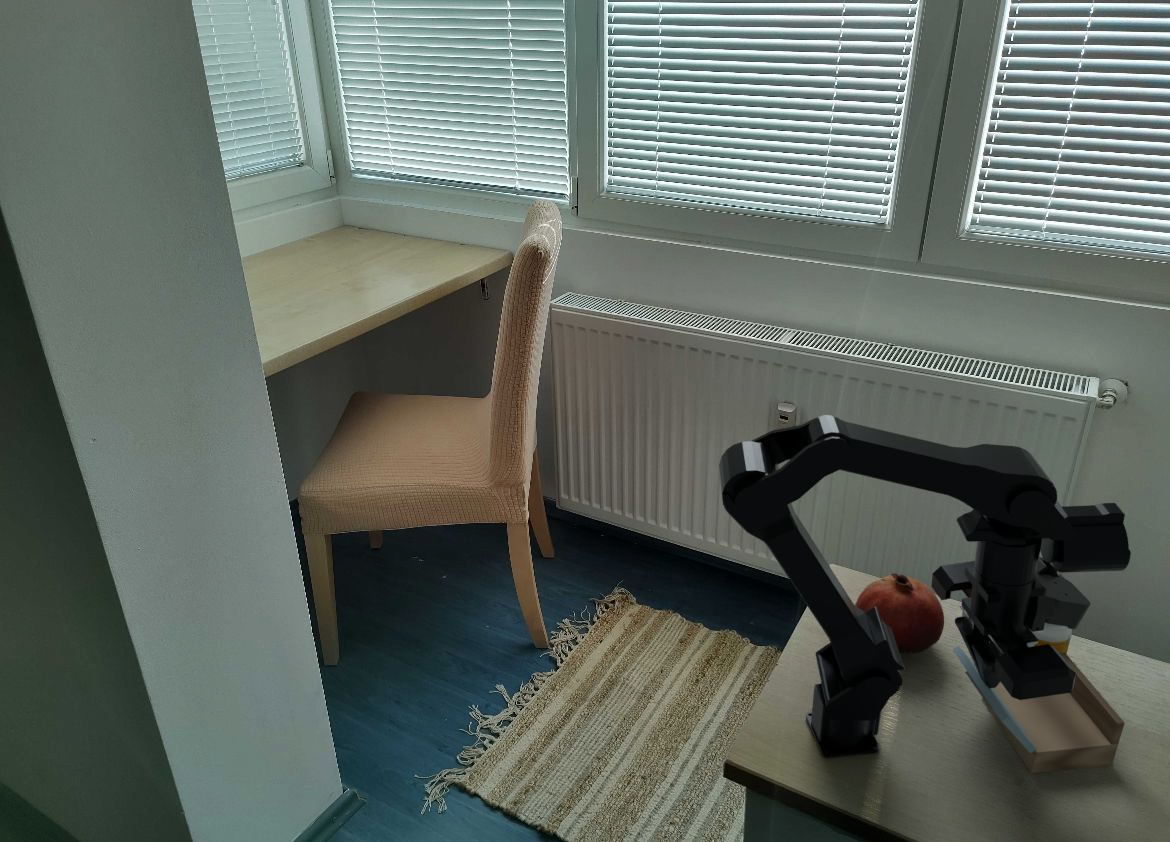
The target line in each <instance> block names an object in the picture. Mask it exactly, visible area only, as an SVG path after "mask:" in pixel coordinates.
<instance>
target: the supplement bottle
mask: <svg viewBox="0 0 1170 842" xmlns="http://www.w3.org/2000/svg"><path fill="white" fill-rule="evenodd" d="M1031 632H1032V631H1031ZM1032 633H1033V634H1034V635H1035V636H1036V638H1037V639H1038V644H1035V646H1039V645H1046V644H1050V645H1051V646H1052V647H1054V648H1055V649H1056V650H1057V651H1058V652H1059V653H1066V654H1067V653H1068V649H1069V646H1070V641H1071V639H1072V638H1071V637H1072V634H1073V629H1069V628H1068V627H1066V626H1060V625H1053V624H1047V623H1045V625H1044V630H1042V631H1035V632H1032ZM1067 655H1068V654H1067Z"/></svg>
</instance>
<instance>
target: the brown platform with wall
mask: <svg viewBox="0 0 1170 842" xmlns="http://www.w3.org/2000/svg"><path fill="white" fill-rule="evenodd" d="M1060 654H1061V655H1062V657H1063V658H1064V659H1065V660H1066V661H1067V663H1068V664H1069V665H1070V666H1071V667H1072V669H1073V670H1074V671H1075V672H1076V678H1075V683H1074V688H1073V690H1072V692H1071V693H1065V694H1058V695H1051V696H1045V697H1038V698H1031V699H1025V700H1018V699H1016V698H1013V697H1011V695H1010V694H1009V693H1008V691H1007V690H1006V689H1005V687H1004V686H1003V684H1002V683H1001V682H1000V683H999V684H998V686H997V687H995V688H994V689H995V691H996V692H997V693H998V695H999V696H1000V698H1001V699H1002V700H1003V702H1004V703H1005V705H1006V706H1007V708H1008V709H1009V710H1010V712H1011V713H1012V715H1013V716H1014V717H1015V719H1016V720H1017V722H1018V723H1019V725H1020V726H1021V727H1022V729H1023V730H1024V732H1025V733H1026V734H1027V736H1028V737H1029V739H1030V740H1031V742H1032V743H1033V744H1034V746H1035V747H1036V749H1037V750H1035V751H1033V752H1032V753H1030V752H1029V751H1028V750H1027V749H1026V748H1025V747H1024V746H1023V745H1022V743H1021V742H1020V741H1019V740H1018V739H1017V738H1016V737H1015V736H1014V735H1013V733H1012V732H1011V731H1010V730H1009V729H1008V728H1007V727H1006V726H1005V725H1004V723H1003V722H1002V721H1001V720H1000V718H999V717H998V715H997V714H996V713H995V711H994V710H993V708H990V707H989V706H988V705H987V704H986V702H985V701H984V699H983V698H982V697H981V700H982V702H983V704H984V705H985V706H986V708H987V709H988V711H989V712H990V714H991V716H992V717H993V719H995V721H996V722H997V724H998V726H999V728H1001V730H1002V731H1003V733H1004V734H1005V736H1006V738H1007V739H1008V740H1009V742H1010V743H1011V745H1012V746H1013V748H1014V749H1015V751H1016V752H1017V753H1018V755H1019V757H1020V758H1021V759H1022V761H1023V763H1024V764H1025V765H1026V767H1027V768H1028V770H1029V771H1030V773H1031V774H1033V773H1034V774H1036V773H1047V772H1054V771H1061V770H1062V771H1063V770H1072V769H1073V770H1074V769H1082V768H1090V767H1092V768H1093V767H1100V766H1109V765H1113V763H1114V760H1115V757H1116V753H1117V750H1118V746H1119V744H1120V740H1121V736H1122V733H1123V730H1124V727H1125V724H1126V722H1125V721H1124V720H1123V719H1122V718H1121V717H1120V715H1119V714H1118V713H1117V712H1116V711H1115V709H1114V708H1113V707H1112V706H1111V704H1109V703H1108V701H1107V700H1106V699H1105V697H1104V696H1103V695H1102V694H1101V693H1100V692H1099V690H1098V689H1097V688H1096V687H1095V686H1094V685H1093V683H1092V682H1091V681H1090V680H1089V679H1088V677H1087V676H1086V675H1085V674H1084V673H1083V672H1082V671H1081V669H1080V668H1079V666H1077V665H1076V663H1075V662H1074V661H1073V660H1072V659H1071V658H1070V656H1069V655H1068V654H1066V653H1060Z"/></svg>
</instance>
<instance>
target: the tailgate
mask: <svg viewBox="0 0 1170 842" xmlns="http://www.w3.org/2000/svg"><path fill="white" fill-rule="evenodd" d="M952 651H953V653H954V654H955V656H956V657H957V658H958V660H959V662H960V663H961V664H962V666H963V667H964V669H965V675H966V676H967V677H968V678H969V680H970V681H971V683H972V684H973V686H974V687H975V689H976V690H977V693H979V695H980V696H981V699H982V698H983V699H984V701H985V702H986V704H987V705H988V706H989V707H990V708H993V710H994V711H995V713H996V714H997V715H998V717H999V718H1000V720H1001V721H1002V722H1003V723H1004V725H1005V726H1006V727H1007V728H1008V729H1009V730H1010V731H1011V732H1012V733H1013V735H1014V736H1015V737H1016V738H1017V739H1018V740H1019V741H1020V742H1021V743H1022V745H1023V746H1024V747H1025V748H1026V749H1027V750H1028V751H1029V752H1030V753H1032V752H1033V751H1035V750H1037V749H1036V747H1035V746H1034V744H1033V743H1032V742H1031V740H1030V739H1029V737H1028V736H1027V734H1026V733H1025V732H1024V730H1023V729H1022V727H1021V726H1020V725H1019V723H1018V722H1017V720H1016V719H1015V717H1014V716H1013V715H1012V713H1011V712H1010V710H1009V709H1008V708H1007V706H1006V705H1005V703H1004V702H1003V700H1002V699H1001V698H1000V696H999V695H998V693H997V692H996V691H995V689H994V688H990V689H989V688H988V686H987V685H986V684H985V683H984V681H983V680H982V679H981V677H980V675H979V673H978V671H977V668H976V666H975V664H974V662H973V660H972V658H971V659H970V657H969V656H968V655H967V654H966V653H965V651H964V650H963V649H962V647H960V645H957V646H955V648H953V649H952Z"/></svg>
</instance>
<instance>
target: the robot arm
mask: <svg viewBox="0 0 1170 842" xmlns="http://www.w3.org/2000/svg"><path fill="white" fill-rule="evenodd" d="M786 461H787V462H786ZM784 462H786V463H785V464H784V465H782V466H781V467H779V465H780V464H782V463H784ZM718 468H719V469H718V470H719V478H720V479H719V480H720V488H721V489H720V490H721V500H722V505H723V507H724V510H725V511H726V513H727V514H728V515H729V516H730V517H731V518H732V519H733V520H734V521H735V522H736V523H737V524H738V525H739V526H740V527H741V529H743V530H744V531H745V532H746V533H747V534H749V535H750V536H752V537H754V538H755V539H757V540H759V541H761V542H763V543H764V544H765V545H766V546H767V548H768V549H769V551H770V552H771V553H772V555H773V557H774V558H775V560H776V561H777V562H778V564H779V566H780V567H781V569H782V570H783V572H784V573H785V574H786V576H787V578H788V579H789V581H790V582H791V583H792V585H793V587H794V588H795V589H796V592H797V593H798V595H800V597H801V598H802V600H803V602H804V603H805V605H806V606H807V608H808V609H809V611H810V612H811V614H812V615H813V616H814V618H815V620H816V621H817V623H818V624H819V626H820V627H821V629H822V630H823V632H824V633H825V635H826V636H827V638H828V640H829V642H828V644H826V645H824V646H823V647H821V648H820V649H819V650H817V651H815V659H816V663H817V669H818V675H819V676H820V677H819V679H820V683H817V684H814V686H813V695H812V696H813V697H812V708H811V711H807V712H806V714H805V719H806V721H807V724H808V725H809V728H810V730H811V733H812V735H813V737H814V740H815V742H816V744H817V746H818V749H819V752H820V755H821V756H822V757H824V758H835V757H836V758H837V757H844V756H845V757H846V756H855V755H865V754H874V753H878V752H879V751H880V745H879V743H878V741H877V738H876V737H875V736H878V735H879V731H880V722H881V718H882V717H881V716H882V710H883V709H884V707H885V706H886V705H887V703H888V701H889V700H890V698H892V697H894V695H896V694H897V693H898V691H899V690H900V688H901V687H902V686H903V678H902V677H903V676H902V674H901V671H904V670H905V665H904V663H903V659H902V656H901V654H900V653H899V650H898V647H897V644H896V641H895V638H894V635H893V632H892V629H891V627H889V626H888V625H886V624H885V623H884V622H883V621H882V619H881V617H880V615H879V612H878V609H877V607H876V606H875V607H873V608H872V609H870V610H868V611H867V612H864V611H863V610H861V609H859V608H857V607H856V606H855V603H854V602H853V601H852V599H851V598H850V595H849V594H848V592H847V591H846V590H845V588H844V587H843V585H842V584H841V582H840V581H839V579H838V578H837V576H836V574H835V572H834V571H833V569H832V568H831V567H830V565H829V563H828V561H827V560H826V558H825V557H824V555H823V554H822V552H821V551H820V549H819V548H818V546H817V544H816V543H815V541H814V540H813V538H812V537H811V536H810V533H809V532H808V530H807V529H806V527H805V526H804V524H803V523H802V521H801V519H800V518H799V516H798V515H797V513H796V511H795V509H794V506H793V504H792V503H794V502H796V501H797V500H800V499H801V498H802V497H803V496H804V495H806V494H807V493H808V492H809V491H810V490H811V489H812V488H814V486H816V485H817V484H818V483H819V482H821V480H823V479H824V478H825V477H827V476H829V475H832V474H834V473H836V472H838V471H842V472H845V473H850V474H855V475H860V476H865V477H868V478H872V479H877V480H880V481H885V482H889V483H894V484H898V485H900V486H901V485H902V486H906V487H911V488H914V489H920V490H923V491H928V492H932V493H936V494H941V495H945V496H949V497H951V498H954V499H956V500H958V501H960V502H962V503H964V504H965V505H967V507H968V506H969V507H970V508H971V509H972V510H971V511H968V512H965V513H962V515H960V516H959V517H957V519H956V523H957V525H958V527H959V529H960V530H961V533H962V535H963V537H964V538H965V539H964V540H966V541H967V542H970V543H972V542H973V543H974V542H976V549H975V555H974V556H975V557H974V558H975V559H974V560H971V561H965V562H957V563H951V564H945V565H939V567H938V568H937V569H936V570H934V571H933V572H932V574H931V575H932V576H931V587H930V588H931V589H933V592H934V593H935V595H936V596H937V597H938V598H939V599H940V600H941V601H946V600H950V599H951V595H952V592H958V591H962V592H963V593H964V595H965V596H966V597H965V598H961V603H960V604H959V608H960V610H961V611H962V614H961V616H958V617H955V619H954V624H955V625H956V627H957V629H958V631H959V633H960V636H961V637H962V640H963V641H964V645H965V646H966V648H967V650H968V653H969V655H970V657H971V660H972V662H973V663H974V664H975V666H976V668H977V671H978V673H979V675H980V677H981V679H982V680H983V681H984V683H985V684H986V685H987V686H988V688H989V689H990V688H995V687H997V686H998V684H999V683H1000V682H1001V683H1002V684H1003V686H1004V687H1005V689H1006V690H1007V691H1008V693H1009V694H1010V695H1011V697H1013V698H1016V699H1018V700H1025V699H1031V698H1038V697H1045V696H1051V695H1058V694H1065V693H1071V692H1072V690H1073V688H1074V683H1075V678H1076V672H1075V671H1074V670H1073V669H1072V667H1071V666H1070V665H1069V664H1068V663H1067V661H1066V660H1065V659H1064V658H1063V657H1062V655H1061V654H1060V653H1059V652H1058V651H1057V650H1056V649H1055V648H1054V647H1052V646H1051V645H1050V644H1046V645H1039V646H1035V644H1038V639H1037V638H1036V636H1035V635H1034V634H1033V633H1032V632H1035V631H1042V630H1044V625H1045V623H1047V624H1053V625H1060V626H1066V627H1068V628H1069V629H1072V630H1075V629H1077V627H1078V626H1079V624H1080V623H1081V622H1082V620H1083V618H1084V616H1085V615H1086V614H1087V611H1088V609H1089V608H1090V606H1091V601H1090V600H1089V599H1088V598H1087V597H1086V596H1085V595H1084V594H1083V593H1082V592H1081V591H1080V590H1079V588H1077V587H1076V585H1074V584H1073V583H1072V582H1071V581H1070V580H1068V579H1067V578H1065V577H1064V576H1063V575H1062V574H1063V573H1064V574H1065V573H1087V572H1089V573H1090V572H1091V573H1093V572H1095V573H1096V572H1117V571H1118V572H1120V571H1121V572H1122V571H1124V570H1126V569H1127V567H1128V565H1129V564H1130V559H1131V557H1132V556H1131V554H1132V553H1131V550H1130V549H1129V548H1130V546H1129V538H1128V533H1127V529H1126V527H1125V524H1124V523H1125V521H1124V520H1125V516H1126V515H1125V512H1124V511H1123V510H1122V509H1121V508H1120V507H1119V506H1118V504H1117V503H1116V502H1102V503H1098V504H1094V505H1093V504H1092V505H1073V506H1072V505H1070V506H1069V505H1068V506H1067V505H1066V506H1061V503H1059V501H1058V490H1057V488H1056V487H1055V484H1054V483H1053V481H1052V479H1051V478H1050V477H1049V476H1048V475H1047V473H1046V472H1045V470H1044V469H1043V468H1042V466H1041V465H1040V464H1039V463H1038V461H1037V460H1036V459H1035V457H1034V455H1032V453H1031V452H1030V451H1029V450H1027V449H1025V448H1022V447H1019V446H1016V445H1015V446H1014V445H1002V444H989V443H982V444H976V445H972V446H969V447H961V446H960V447H958V446H951V445H947V444H942V443H938V442H933V441H929V440H925V439H921V438H917V437H912V436H907V435H905V434H900V433H895V432H892V431H887V430H883V429H879V428H874V427H870V426H867V425H861V424H857V423H853V422H848V421H845V420H842V419H840V418H839V417H836V416H834V415H831V414H823V415H820V416H817V417H815V418H812V419H811V420H809V421H806V422H804V423H802V424H799V425H792V426H788V427H784V428H777V429H774V430H771V431H768V432H766V433H764V434H762V435H759V436H758V437H756V438H754V439H752V440H750V441H749V440H748V441H741V442H737V443H735V444H732V445H731V446H730V447H728V448H727V449H726V450H725V451H724V453H723V454H722V455H721V457H720V460H719V464H718ZM1040 554H1041V556H1042V557H1041V556H1040ZM1061 573H1062V574H1061ZM1031 631H1032V632H1031Z"/></svg>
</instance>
